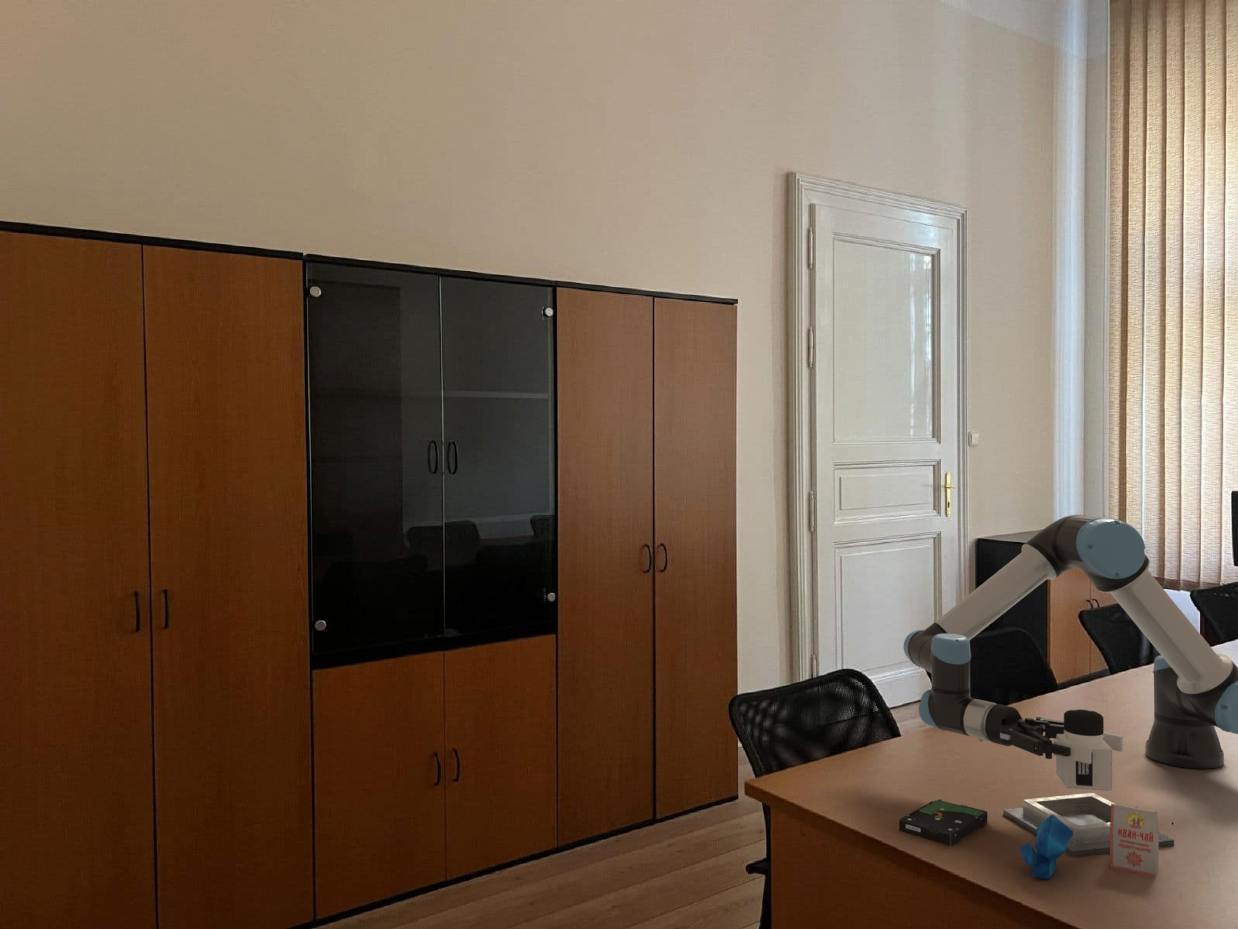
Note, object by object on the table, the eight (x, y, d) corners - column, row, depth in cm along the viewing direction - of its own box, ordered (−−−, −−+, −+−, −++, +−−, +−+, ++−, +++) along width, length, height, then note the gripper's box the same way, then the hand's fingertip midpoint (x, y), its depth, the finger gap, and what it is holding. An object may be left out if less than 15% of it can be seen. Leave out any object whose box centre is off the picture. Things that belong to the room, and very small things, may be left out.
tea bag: (1113, 859, 166) (1112, 800, 166) (1158, 868, 162) (1158, 808, 162) (1109, 867, 163) (1109, 807, 163) (1156, 877, 159) (1156, 815, 159)
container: (1112, 791, 174) (1112, 718, 174) (1065, 788, 176) (1065, 716, 175) (1100, 777, 182) (1100, 707, 182) (1055, 774, 183) (1055, 705, 183)
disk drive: (952, 850, 172) (988, 825, 183) (952, 834, 172) (988, 810, 183) (898, 834, 179) (935, 811, 190) (898, 819, 179) (935, 796, 190)
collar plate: (1095, 805, 191) (1095, 787, 191) (1174, 845, 171) (1174, 825, 171) (1003, 814, 186) (1003, 796, 186) (1072, 857, 167) (1072, 836, 167)
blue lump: (1013, 839, 158) (1027, 800, 167) (1016, 887, 159) (1030, 845, 169) (1063, 849, 154) (1075, 808, 163) (1066, 898, 155) (1077, 855, 165)
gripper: (1026, 731, 200) (1137, 758, 182) (959, 753, 186) (1072, 784, 168) (1026, 694, 200) (1137, 718, 182) (959, 713, 186) (1072, 740, 168)
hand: (1106, 750), depth 175 cm, fingers closed on container, 10 cm apart
